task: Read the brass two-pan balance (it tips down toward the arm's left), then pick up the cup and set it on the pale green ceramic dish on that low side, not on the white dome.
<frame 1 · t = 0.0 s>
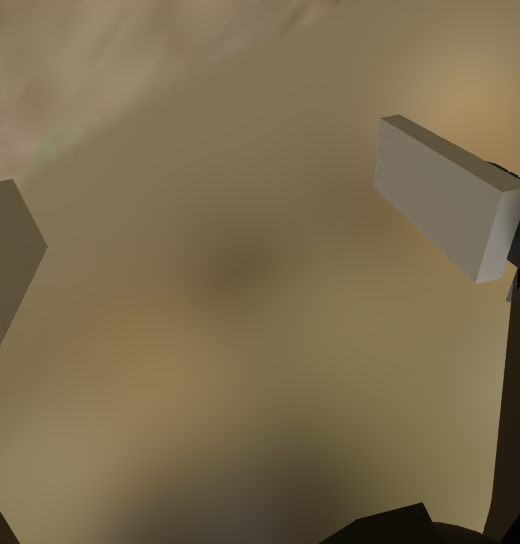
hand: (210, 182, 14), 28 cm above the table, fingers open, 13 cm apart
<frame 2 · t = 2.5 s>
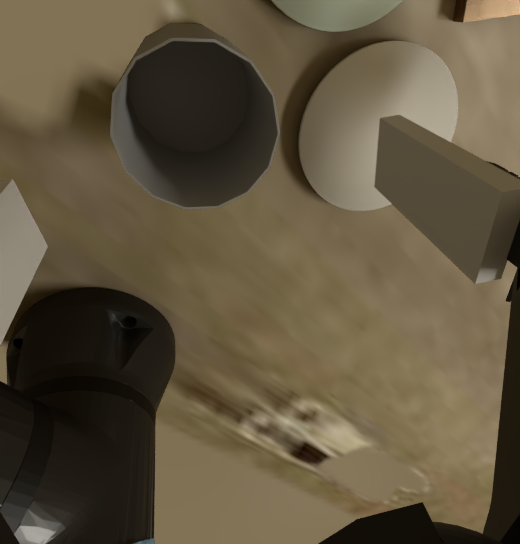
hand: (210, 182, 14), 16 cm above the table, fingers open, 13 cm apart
white dome: (373, 132, 32), on the table
cup: (189, 92, 28), on the table
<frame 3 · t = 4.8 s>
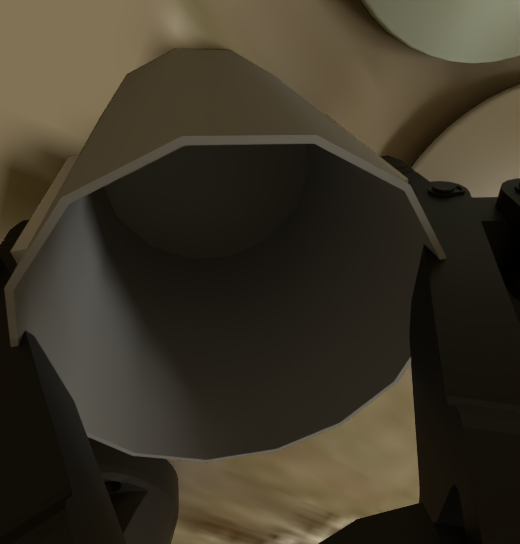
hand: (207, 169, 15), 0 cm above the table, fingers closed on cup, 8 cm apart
white dome: (494, 213, 20), on the table
cup: (206, 164, 16), on the table, touching gripper
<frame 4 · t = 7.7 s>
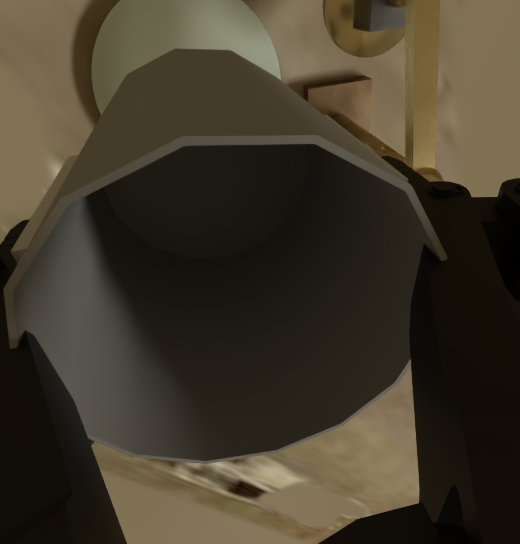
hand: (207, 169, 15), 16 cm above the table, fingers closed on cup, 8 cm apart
balance: (334, 121, 32), on the table
dish green: (190, 88, 28), on the table
cup: (206, 164, 16), point 16 cm above the table, touching gripper
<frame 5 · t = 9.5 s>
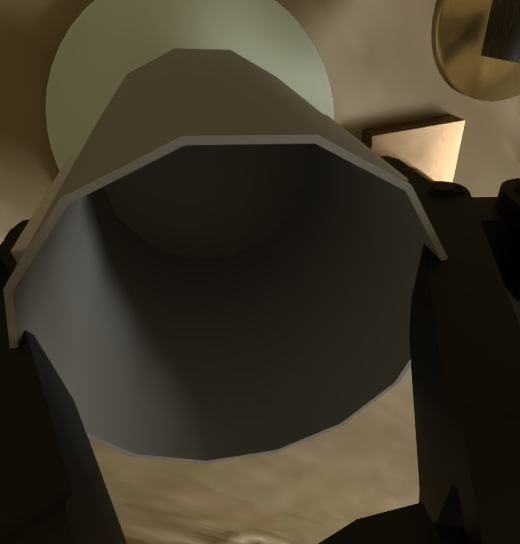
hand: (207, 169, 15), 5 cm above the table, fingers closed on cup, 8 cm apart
balance: (401, 175, 22), on the table
dish green: (199, 136, 19), on the table
cup: (206, 164, 16), point 4 cm above the table, touching gripper
when the fingers open (3 cm above the table, at t = 10.7 s): cup drops 2 cm, resting on dish green.
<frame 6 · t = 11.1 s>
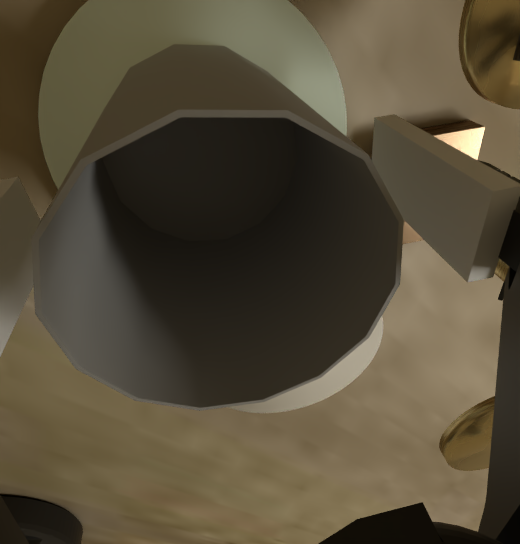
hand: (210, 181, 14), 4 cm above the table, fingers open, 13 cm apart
balance: (415, 183, 21), on the table
white dome: (285, 339, 27), on the table
dish green: (202, 144, 18), on the table
cup: (203, 152, 17), point 1 cm above the table, touching dish green
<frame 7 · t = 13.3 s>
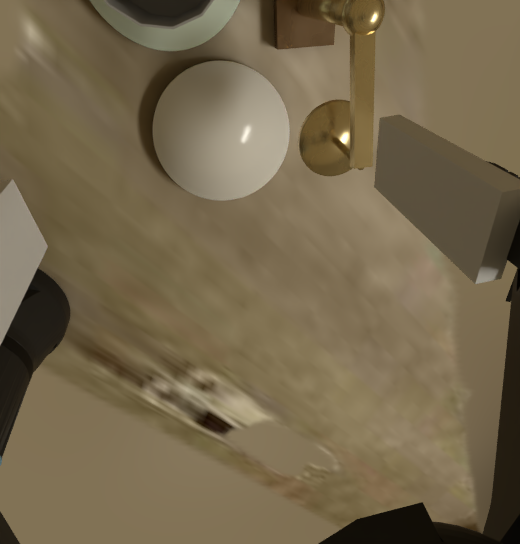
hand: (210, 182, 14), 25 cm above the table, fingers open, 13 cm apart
balance: (302, 4, 33), on the table
white dome: (221, 134, 38), on the table
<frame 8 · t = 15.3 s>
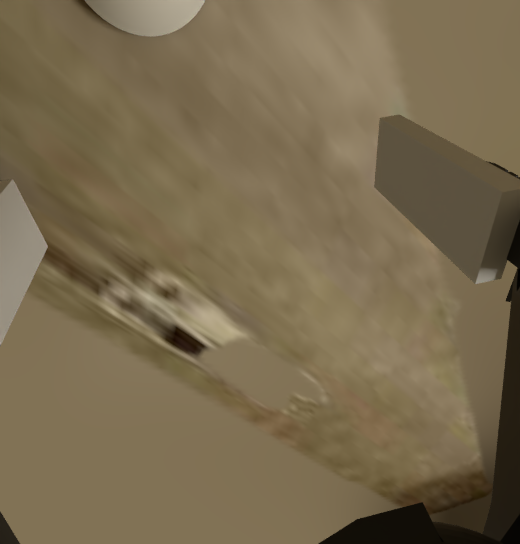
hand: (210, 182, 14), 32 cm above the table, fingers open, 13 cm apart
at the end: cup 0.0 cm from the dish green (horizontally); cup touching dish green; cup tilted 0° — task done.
